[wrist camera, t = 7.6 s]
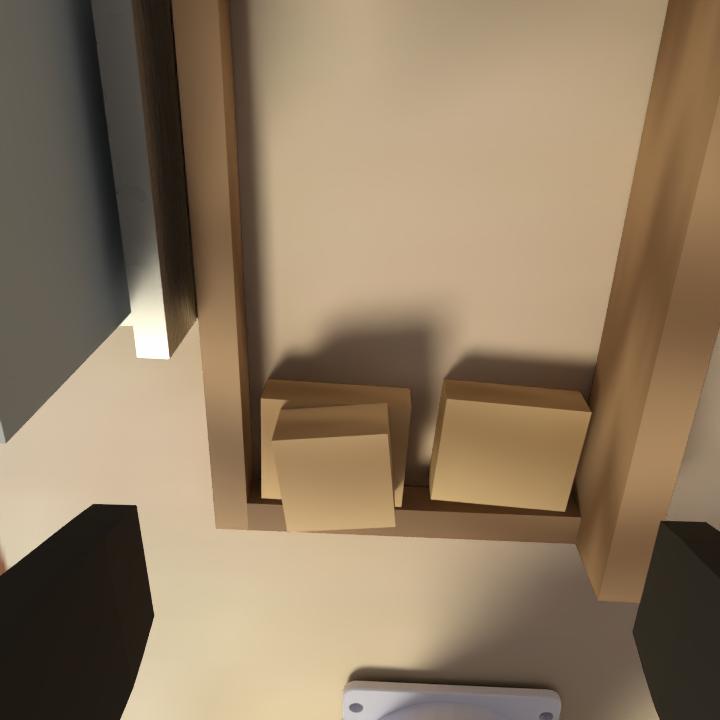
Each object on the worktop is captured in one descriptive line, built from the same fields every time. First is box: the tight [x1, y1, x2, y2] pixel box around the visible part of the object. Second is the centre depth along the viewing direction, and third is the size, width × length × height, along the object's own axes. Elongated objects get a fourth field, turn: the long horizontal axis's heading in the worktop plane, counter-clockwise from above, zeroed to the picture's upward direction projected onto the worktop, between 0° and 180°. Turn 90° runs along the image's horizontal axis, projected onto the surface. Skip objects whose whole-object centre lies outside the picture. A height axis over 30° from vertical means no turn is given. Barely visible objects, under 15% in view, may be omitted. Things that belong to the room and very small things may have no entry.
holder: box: [91, 0, 196, 359], centre depth 16 cm, size 9×4×3 cm, turn 178°
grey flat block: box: [0, 0, 131, 443], centre depth 13 cm, size 2×8×7 cm, turn 179°
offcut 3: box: [428, 379, 592, 512], centre depth 20 cm, size 3×4×2 cm
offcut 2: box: [272, 403, 396, 532], centre depth 18 cm, size 3×3×2 cm
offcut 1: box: [261, 379, 412, 507], centre depth 20 cm, size 3×4×2 cm
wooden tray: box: [172, 0, 720, 603], centre depth 16 cm, size 17×12×4 cm
